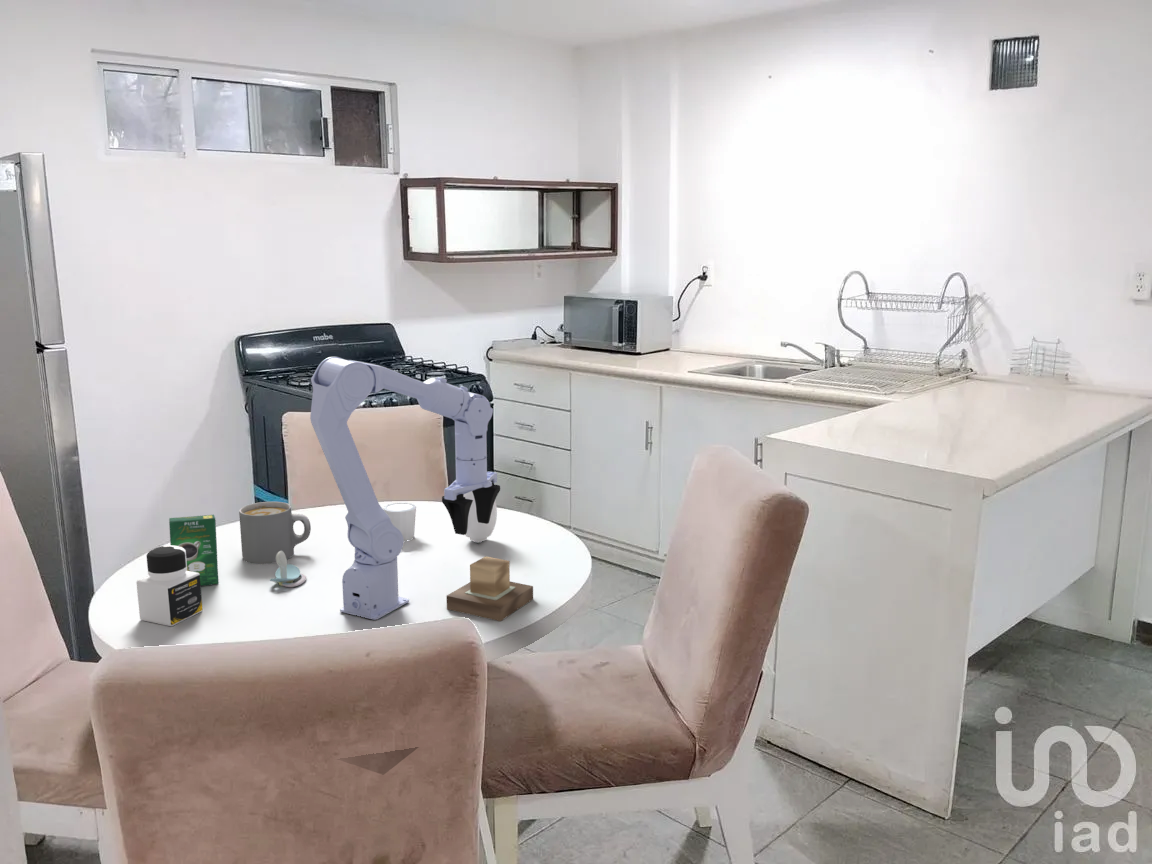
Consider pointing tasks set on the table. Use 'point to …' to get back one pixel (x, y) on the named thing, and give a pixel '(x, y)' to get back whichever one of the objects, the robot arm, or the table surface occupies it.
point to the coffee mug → (269, 531)
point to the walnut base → (490, 601)
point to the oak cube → (489, 576)
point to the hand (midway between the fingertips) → (472, 528)
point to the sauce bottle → (476, 529)
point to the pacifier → (287, 572)
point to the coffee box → (197, 545)
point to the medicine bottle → (168, 588)
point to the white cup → (402, 518)
